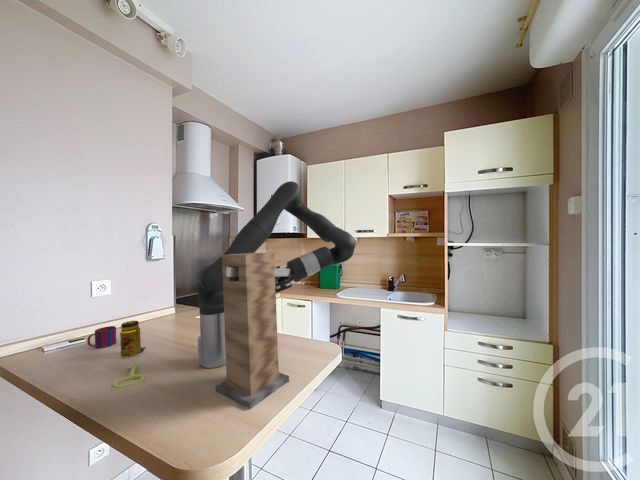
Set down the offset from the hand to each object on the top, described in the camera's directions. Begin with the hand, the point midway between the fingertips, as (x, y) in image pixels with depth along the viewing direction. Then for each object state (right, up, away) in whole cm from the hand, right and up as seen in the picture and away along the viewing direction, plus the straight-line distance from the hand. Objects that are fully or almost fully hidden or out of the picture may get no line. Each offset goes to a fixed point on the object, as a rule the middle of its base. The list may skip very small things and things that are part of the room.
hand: (256, 289), depth 79 cm
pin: (+4, +5, -5) cm, 8 cm away
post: (+2, -25, -9) cm, 27 cm away
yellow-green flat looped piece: (-38, -28, -2) cm, 47 cm away
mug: (-70, -29, +24) cm, 79 cm away
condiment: (-51, -28, +16) cm, 61 cm away
